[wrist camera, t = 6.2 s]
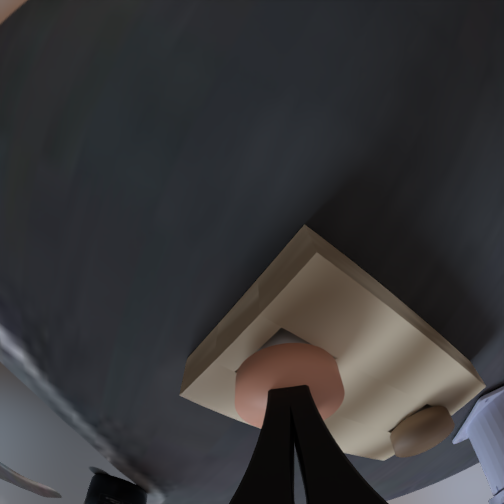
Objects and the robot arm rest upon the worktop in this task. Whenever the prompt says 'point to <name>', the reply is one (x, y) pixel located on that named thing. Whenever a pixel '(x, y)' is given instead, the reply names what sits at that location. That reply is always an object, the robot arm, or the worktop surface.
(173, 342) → the worktop surface
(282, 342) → the terracotta plunger
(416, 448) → the walnut plunger
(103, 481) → the supplement bottle
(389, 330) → the board
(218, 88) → the worktop surface
